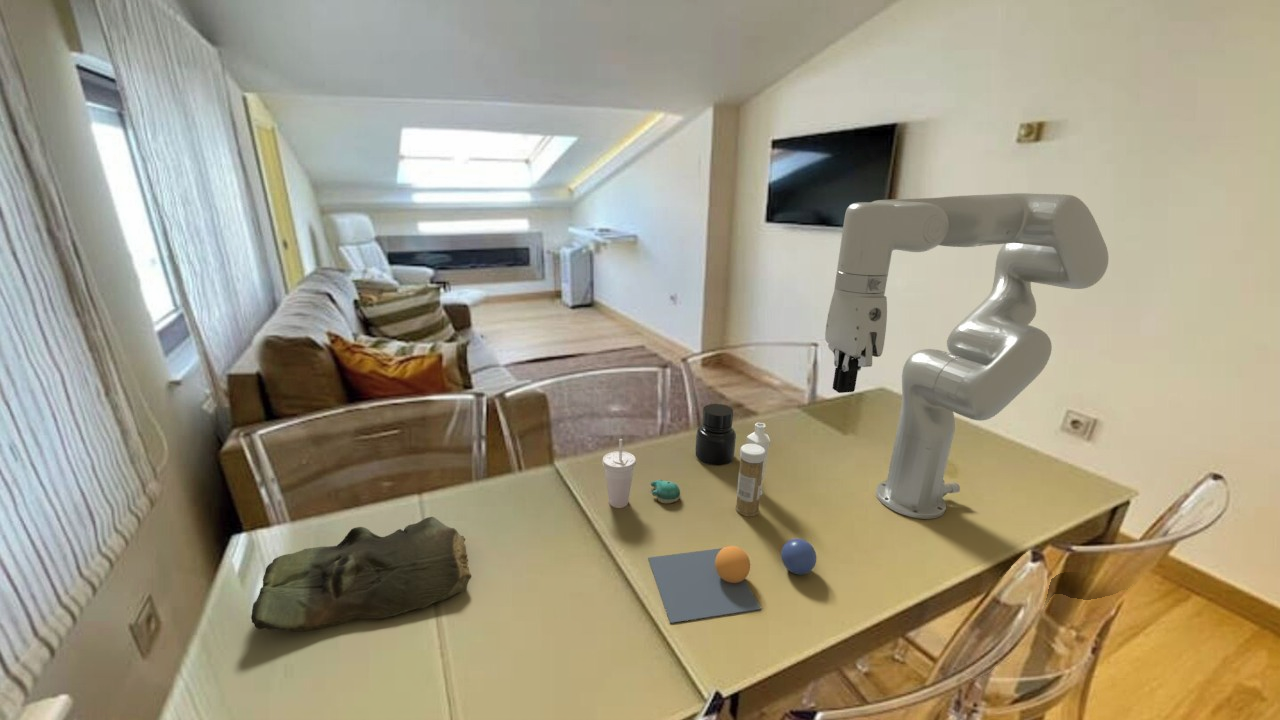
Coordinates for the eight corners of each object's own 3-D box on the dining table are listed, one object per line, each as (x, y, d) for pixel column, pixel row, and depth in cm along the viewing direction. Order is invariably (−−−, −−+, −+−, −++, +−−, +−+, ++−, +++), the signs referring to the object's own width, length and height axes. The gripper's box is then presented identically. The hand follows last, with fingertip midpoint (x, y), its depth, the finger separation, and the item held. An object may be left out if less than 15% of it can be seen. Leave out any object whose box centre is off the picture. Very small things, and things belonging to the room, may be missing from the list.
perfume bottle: (739, 494, 107) (746, 427, 102) (744, 483, 111) (750, 418, 106) (762, 499, 106) (770, 432, 101) (766, 488, 109) (773, 423, 105)
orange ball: (732, 532, 85) (704, 551, 85) (746, 555, 80) (716, 575, 80) (747, 554, 87) (719, 572, 87) (761, 577, 82) (732, 596, 82)
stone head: (472, 588, 77) (242, 627, 67) (472, 624, 81) (255, 666, 71) (466, 494, 92) (278, 514, 82) (466, 528, 96) (287, 551, 86)
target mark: (726, 548, 91) (726, 547, 91) (760, 609, 78) (761, 608, 78) (648, 558, 88) (648, 557, 88) (670, 623, 75) (670, 622, 75)
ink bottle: (729, 447, 126) (733, 401, 122) (740, 465, 118) (745, 417, 114) (689, 448, 125) (692, 402, 121) (698, 467, 117) (701, 418, 113)
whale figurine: (660, 508, 102) (661, 491, 101) (643, 489, 108) (643, 473, 107) (686, 501, 105) (687, 485, 103) (668, 483, 111) (668, 467, 110)
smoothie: (610, 515, 99) (611, 449, 95) (597, 497, 105) (597, 434, 100) (640, 506, 102) (642, 442, 98) (626, 490, 107) (627, 428, 103)
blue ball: (782, 529, 86) (770, 557, 88) (799, 552, 81) (786, 581, 83) (809, 533, 88) (797, 560, 90) (828, 555, 83) (815, 583, 84)
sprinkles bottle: (763, 512, 101) (770, 450, 97) (746, 520, 99) (753, 456, 95) (746, 500, 105) (753, 440, 101) (729, 507, 102) (735, 446, 98)
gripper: (913, 292, 77) (891, 406, 83) (853, 275, 91) (838, 374, 97) (868, 293, 76) (849, 410, 82) (814, 275, 90) (801, 376, 95)
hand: (843, 390), depth 89 cm, fingers closed
